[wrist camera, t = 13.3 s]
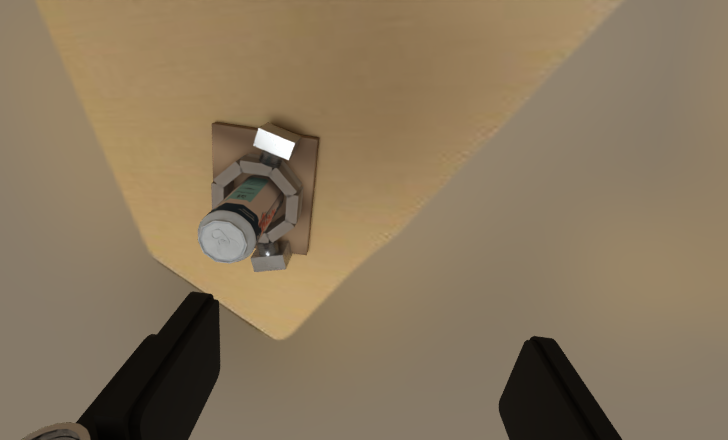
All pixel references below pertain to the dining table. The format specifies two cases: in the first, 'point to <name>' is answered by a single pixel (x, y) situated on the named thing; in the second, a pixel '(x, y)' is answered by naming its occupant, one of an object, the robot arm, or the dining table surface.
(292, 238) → the octagonal gimbal ring stand
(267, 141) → the shaft in
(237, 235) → the beer can
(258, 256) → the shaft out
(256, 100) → the dining table surface
